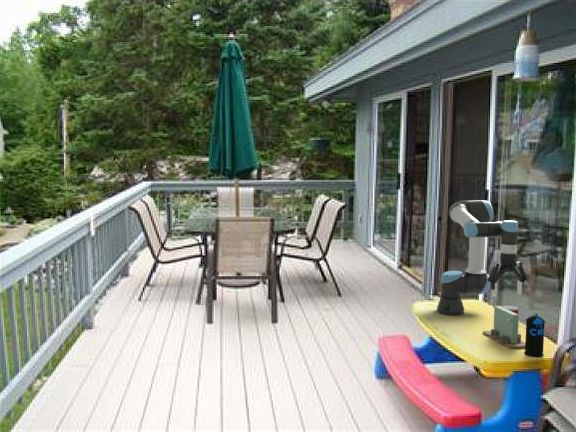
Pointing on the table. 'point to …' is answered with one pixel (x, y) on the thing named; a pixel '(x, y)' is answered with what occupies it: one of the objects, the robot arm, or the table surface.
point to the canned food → (511, 308)
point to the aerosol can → (534, 335)
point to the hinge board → (505, 340)
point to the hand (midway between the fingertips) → (506, 295)
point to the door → (506, 323)
